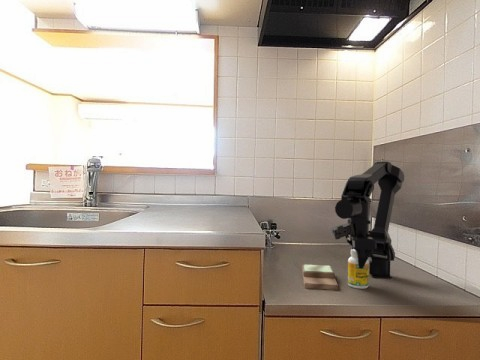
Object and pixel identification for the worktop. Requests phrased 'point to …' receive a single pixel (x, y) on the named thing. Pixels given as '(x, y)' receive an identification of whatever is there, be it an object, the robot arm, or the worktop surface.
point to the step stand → (319, 277)
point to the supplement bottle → (357, 272)
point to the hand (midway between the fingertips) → (358, 265)
